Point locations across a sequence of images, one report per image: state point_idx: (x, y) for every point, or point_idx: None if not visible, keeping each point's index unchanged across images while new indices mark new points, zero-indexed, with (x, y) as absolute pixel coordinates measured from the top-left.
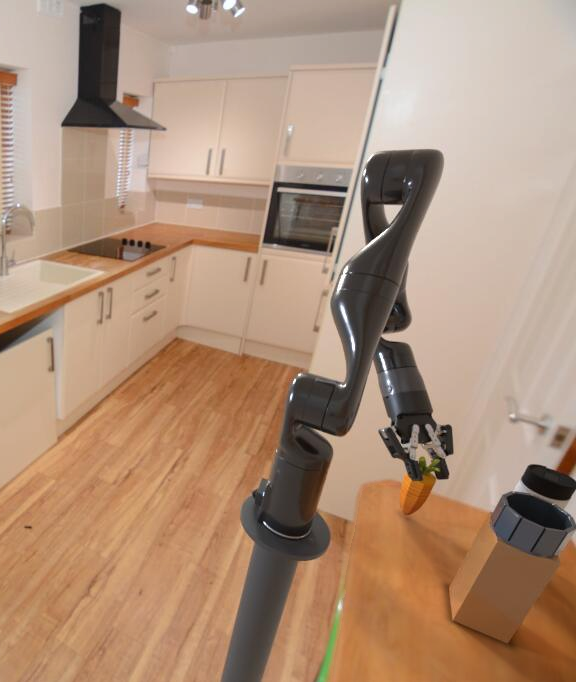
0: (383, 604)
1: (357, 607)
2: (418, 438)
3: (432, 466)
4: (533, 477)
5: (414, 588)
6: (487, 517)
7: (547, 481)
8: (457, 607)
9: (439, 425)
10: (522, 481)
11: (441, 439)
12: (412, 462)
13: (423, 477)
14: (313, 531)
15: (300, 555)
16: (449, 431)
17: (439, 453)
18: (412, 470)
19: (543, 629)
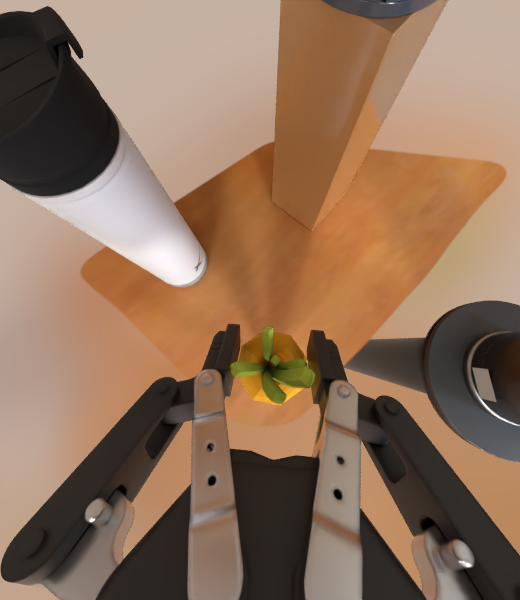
0: (416, 224)
1: (453, 225)
2: (296, 483)
3: (254, 363)
4: (78, 95)
5: (357, 237)
6: (386, 57)
7: (69, 31)
8: (347, 186)
9: (72, 587)
10: (101, 169)
11: (139, 467)
12: (336, 379)
13: (287, 348)
14: (462, 345)
15: (506, 303)
16: (66, 503)
17: (219, 387)
18: (338, 357)
19: (246, 176)
